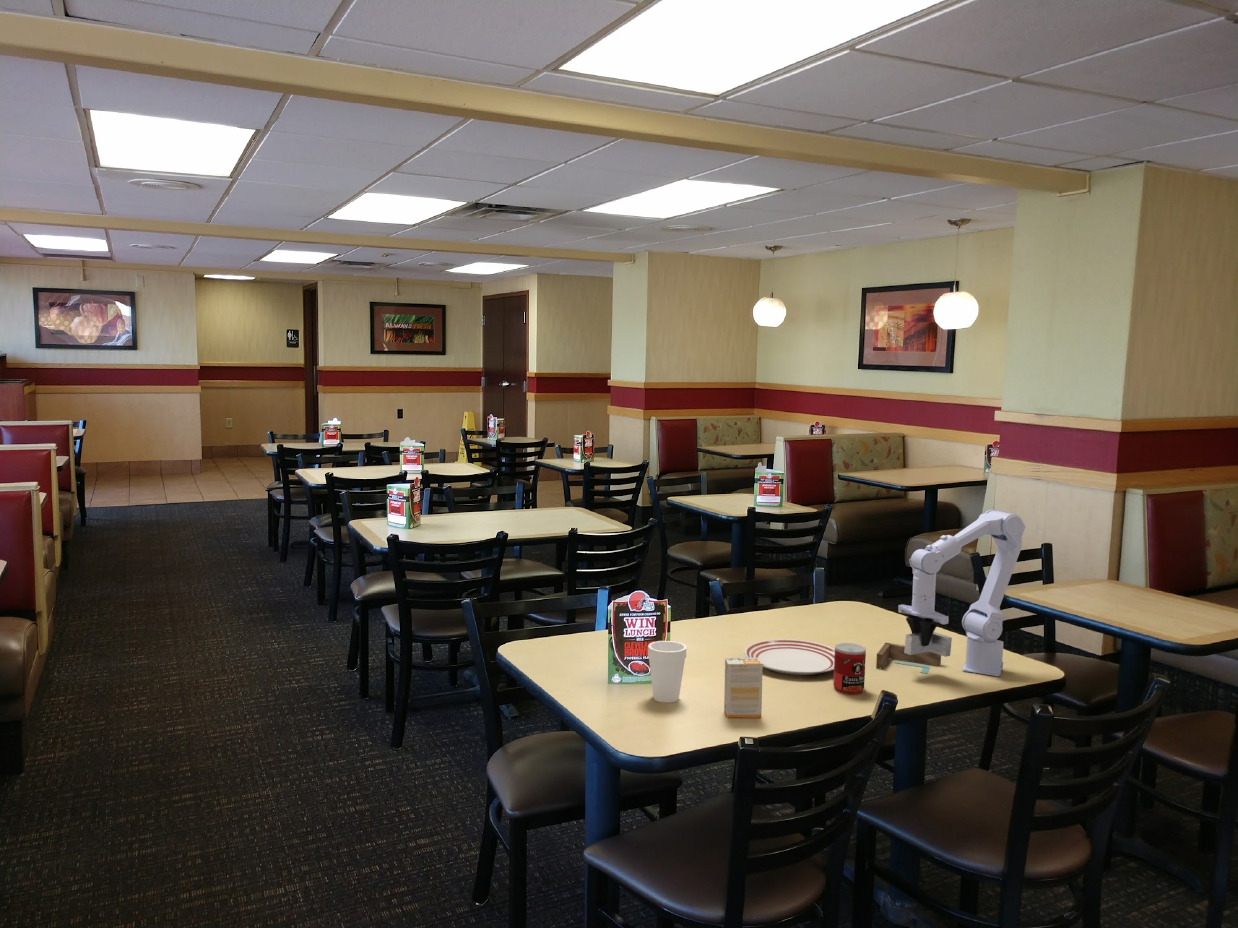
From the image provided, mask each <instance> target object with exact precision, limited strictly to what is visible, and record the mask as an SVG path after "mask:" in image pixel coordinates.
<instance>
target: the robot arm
mask: <svg viewBox="0 0 1238 928" xmlns="http://www.w3.org/2000/svg"><path fill="white" fill-rule="evenodd" d="M1025 529H1026V525H1025V523H1024V521H1023V519H1022V517H1020V516H1019V515H1018V514H1016V513H1015V514H1014V513H1008V512H1004V511H1000V510H997V509H988V510H986V511H985V513H984V512H983V513H981V514H980V515H979V516H978V518H977V519H976V520H975V521H973V522H972V523H970V524H969V525H967V526H966V527H965V528H963V529H962V530H960V531H959V532H958V533H956V534H955V535H954V536H953V535H951V534H947V535H944V534H943V535H941V536H939V539H938V540H936V541H935V542H933V543H932V544H928V545H926V547H925V548H924V549H923V548H920V549H916V550H915V551H914V552H913V553H912V555H911V557H910V558H909V559H908V563H909V565H910V567H911V568H912V574H913V577H912V598H911V599H912V600H911V605H906V604H899V605H898V611H897V612H898V613H900V614H906V615H907V614H908V615H909V616H907V617H906V618H905V620H906V622H907V624H908V627H909V628H910V631H911V634H913V633H918V632H922V646H928V645H929V643H930V640H931V637H932V634H933V632H935V630H936V628H937V627H938V626H939V624H941V625H943V626H944V625H947V624H948V625H949V617H950V616H949V615H945V614H943V613H940V612H939V611H935V605H936V587H937V586H936V582H937V573H938V572H939V571H940V570H941V568H942V566H943V565H944V564H945V563H946V562H947V561H949V560H952V558H954V557H955V556H957V555H959V554H960V553H961V552H962V547H963V546H966V545H967V544H969V543H972V542H973V541H976V540H978V539H979V538H981V537H983V536H985V535H989V536H990V537H991V538H992V539H993V540H994V542H995V544H996V545H997V550H996V552H995V556H994V557H993V561H992V563H991V566H990V569H989V572H988V574H987V577H986V579H985V582H984V585H983V587H982V590H981V592H980V596H979V597H978V598H979V599H978V600H977V601H976V602H975V601H974V602H973V603H972V604H970V606H969V609H968V610H967V611H966V612H965V613H964V615H963V617H962V619H961V625H962V628H963V629H964V631H965V635H966V653H965V662H964V664H963V666H962V671H963V672H969V673H975V674H980V675H981V674H982V675H987V676H994V677H1000V676H1001V674H1002V670H1003V668H1004V660H1003V658H1004V657H1003V656H1004V641H1002V640H998V639H999V638H1000V636H1002V633H1003V623H1004V622H1003V621H1004V619H1005V616H1004V614H1003V612H1002V610H1001V608H1000V607H1001V604H1002V601H1003V599H1004V597H1005V593H1006V591H1007V588H1008V585H1009V582H1010V580H1011V577H1012V574H1013V572H1014V569H1015V566H1016V563H1017V561H1018V558H1019V557H1020V556H1019V555H1020V553H1021V550H1022V547H1023V545H1022V543H1023V541H1022V539H1023V537H1022V536H1023V535H1024V532H1025Z"/></svg>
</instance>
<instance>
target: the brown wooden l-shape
mask: <svg viewBox="0 0 1238 928" xmlns="http://www.w3.org/2000/svg"><path fill="white" fill-rule="evenodd" d="M904 650H905V644H897V643H892V642H884V644H883V645H882V647H880V649H879V650H878V652H877V653H876V663H875V665H876V666H875V667H876V669H879V668H881V669H880V670H882V669H883V668H884V666H885V665H886V664H887V662H888V661H889V660H890V658H891V660H895V661H897V660H898V661H903V660H904V661H903V662H908V663H915V664H921V665H928V666H929V665H930V666H936V667H941V665H942V655H939V654H936V653H933V652H930V651H929V652H924V653H919V654H914V655H908V654H906V653H904ZM885 663H886V664H885Z"/></svg>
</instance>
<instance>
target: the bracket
mask: <svg viewBox="0 0 1238 928" xmlns="http://www.w3.org/2000/svg"><path fill="white" fill-rule="evenodd" d="M952 639H953V638H952V637H951V636H948V635H946V634H942V633H938V632H935V631H934V632H933V634H932V637H931V640H930V643H929V645H928V646H922V632H918V633H913V634H912V633H908V634H905V640H904V642H905V643H904V645H905V650H904V653H906V654H908V655H914V654H919V653H924V652H929V651H930V652H933V653H936V654H939V655H941V657H945V658H946V657H947V658H948V657H951V649H952V642H953V641H952Z"/></svg>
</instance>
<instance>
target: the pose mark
mask: <svg viewBox="0 0 1238 928" xmlns="http://www.w3.org/2000/svg"><path fill="white" fill-rule="evenodd" d="M898 663H899V665H906V666H910V667H911V666H912V667H917V668H918V667H919V668H922V669H921V671H920V673H921V674H926V675H927V674H928V673H929V671H930V667H931V665H930V666H929V665H925V664H919V663H912V662H906V661H899V660H898V661H897V660H894V664H898Z"/></svg>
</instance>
